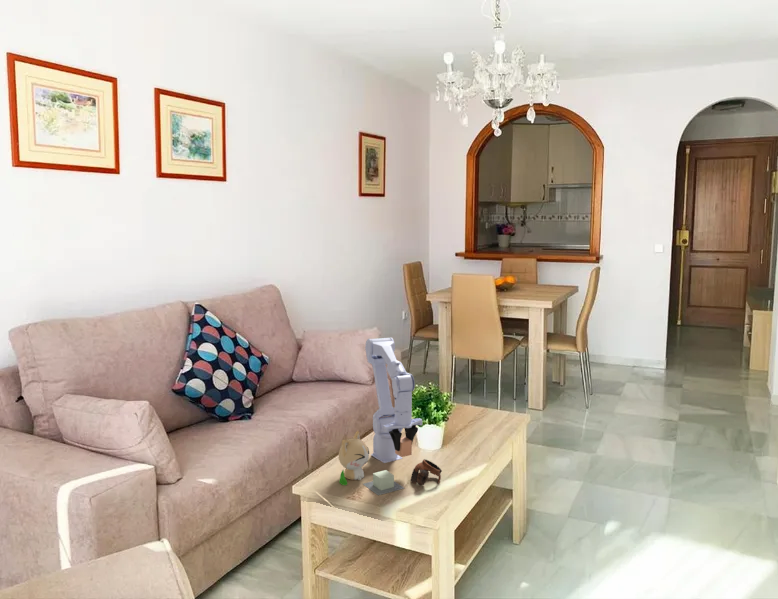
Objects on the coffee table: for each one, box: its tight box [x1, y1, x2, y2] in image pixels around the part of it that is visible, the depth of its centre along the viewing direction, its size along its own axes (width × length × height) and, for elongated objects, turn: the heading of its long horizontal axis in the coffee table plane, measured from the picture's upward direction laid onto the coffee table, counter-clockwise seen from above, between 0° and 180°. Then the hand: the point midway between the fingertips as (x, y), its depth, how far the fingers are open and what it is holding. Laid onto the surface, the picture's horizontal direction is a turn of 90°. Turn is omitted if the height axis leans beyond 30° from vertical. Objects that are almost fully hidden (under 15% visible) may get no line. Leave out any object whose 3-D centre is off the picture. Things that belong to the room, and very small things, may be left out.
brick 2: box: [395, 436, 413, 458], centre depth 219 cm, size 4×4×5 cm
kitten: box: [338, 430, 370, 486], centre depth 217 cm, size 15×10×15 cm
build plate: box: [362, 480, 405, 496], centre depth 211 cm, size 10×10×1 cm
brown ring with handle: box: [410, 458, 443, 486], centre depth 214 cm, size 12×10×8 cm
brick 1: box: [372, 469, 395, 490], centre depth 211 cm, size 5×5×4 cm
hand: (402, 448), depth 219 cm, fingers closed on brick 2, 4 cm apart
